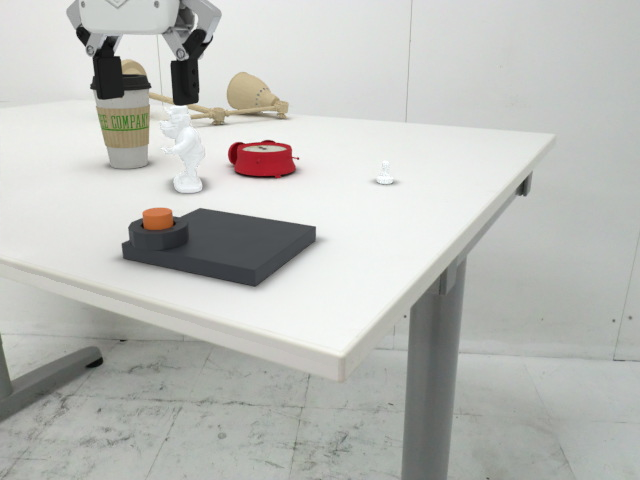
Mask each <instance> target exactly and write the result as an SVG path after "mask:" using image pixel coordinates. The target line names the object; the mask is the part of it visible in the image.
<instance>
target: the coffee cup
mask: <svg viewBox="0 0 640 480" xmlns="http://www.w3.org/2000/svg"><path fill="white" fill-rule="evenodd" d="M147 78H148V75H147V76H146V75H140V74H123V83H124V96H123V97H121V98H114V99H107V100H99V99H98V98H97V93H96V84H95V76H94V75H92V80H91V83H90V84H89V89H90V90H92V93H93V96H94V100H95V109H96V113H97V117H98V122H99V124H100V130H101V134H102V139H103V142H104V146H105V147H106V153H107V156H108V161H109V164H110V167H111V168H114V169H124V170H125V169H126V170H127V169H138V168H142V167H145V166H147V165H148V164H149V144H150V124H151V123H150V117H151V104H150V98H149V92H150V89H152V88H153V87H152V84H151V82H149V79H147Z"/></svg>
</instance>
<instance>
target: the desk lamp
mask: <svg viewBox="0 0 640 480" xmlns="http://www.w3.org/2000/svg"><path fill="white" fill-rule="evenodd" d="M121 64H122V74H140V75H146V76H147V79H148V74H147V72H146V70H145V68H144V66H143V65H142V64H141V63H139V62H138V61H136V60H133V59H131V58H130V59H128V58H126V59H121ZM148 80H149V79H148ZM149 99H151V100H155V101H158V102H162V103H166V104H169V105H172V106H176V105H175V104H174V103H173V97H169V96H166V95H162V94H159V93H154V92H151V91H149ZM226 100H227V103H228V105H229V106H230V107H231V108H232V109H233V110H229V109H225V108H224V107H219V106H218V107H216V106H215V107H207V106H206V107H205V106H202V105H198V104H196V103H195V104H190V105H185V106H187V107H188V110H190V111H194V112H198V114H190V113H188V114H189V115H190V118H191V121H192V120H201V119H210V120H213V121H211V125H214V124H215V125H218V126H219V125H220V126H221V124H224V123H225V117H227V118H229V117H230V116H234V115H243V114H244V115H245V114H257V113H261V112H276V116H279V118H280V119H285V120H287V119H288V117H287V115H285V114H288V113H289V106H290V105H289V104H290V103H289V102H288V101H286V100H280V98H279V97H278V96H277V95H276V94H274V93H272V92H271V90H270V87H269V86H268V85H267V84H266V83H265V81H263V80H262V79H261V78H260V77H257V76H255V75H253V74H250V73H248V72H245V71H240V72H238V73H236V74H234V76H233V77H232V78H231V79H230V81H229V83H228V85H227V89H226Z"/></svg>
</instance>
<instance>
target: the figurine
mask: <svg viewBox="0 0 640 480" xmlns="http://www.w3.org/2000/svg"><path fill="white" fill-rule="evenodd" d="M163 110H164V112H165V113H166V114H168V120H158V124H159V125H160V127H159V130H160V131H162V134H163V136H164V137H166V138H167V139H168V138H169V139H172V140H174V146H172V147H166V148H163V146H162V147H160V150H161V151H162V152H163V153H164V154H165V155H173V156H178V157H179V159H180V160H181V161H182V162H183V164H184V169H185V170H182V171H180V172H179V173H178V174H176V176H174V178H173V180H172V181H173V187H174V189H175V190H176V192H178V193H180V194H193V193H195V194H196V193H199V192H201V191H202V190H203V182H202V180H201V178H200V177H199V176H198V170H197V168H198V167H199V165H200V164H201V163H202V162H203V160H205V159H204V158H205V157H206V150H205V147H204V145H203V143H202V139H201V137H200V134H199V132H198V131H197V129H196V128H195V127H193V126H192V120H191V118H190V115H191V114H190V113H189V109H188V107H187V106H176V105H171V106H170V107H169V109H168V108H167V107H166V106H163ZM189 114H190V115H189Z"/></svg>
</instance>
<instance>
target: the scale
mask: <svg viewBox="0 0 640 480" xmlns="http://www.w3.org/2000/svg"><path fill="white" fill-rule="evenodd" d="M127 231H128V240H125V241H124V242H121V251H122V253H121V254H122V258H123V259H125V260H130V261H134V262H140V263H144V264H149V265H153V266H159V267H162V268H168V269H172V270H177V271H182V272H186V273H191V274H196V275H201V276H206V277H209V278H215V279H219V280H223V281H229V282H234V283H238V284H244V285H248V286H253V287H256V286H257V285H259V284H261V283H262V282H263V281H265V280H266V279H267V278H268V277H269V276H271V275H272V274H274V273H275V272H276V271H277V270H278V269H280V268H281V267H282V266H284V265H285V264H287V263H288V262H289V261H290V260H292V259H293V258H294V257H295V256H297V255H298V254H300V253H301V252H302V251H303V250H305V249H306V248H308V246H310V245H311V244H313V243H314V242H315V241H316V240H317V226H315V225H310V224H303V223H298V222H290V221H285V220H279V219H271V218H266V217H259V216H254V215H247V214H242V213H241V214H240V213H235V212H228V211H222V210H215V209H209V208H203V207H199V208H196V209H193V210H192V211H190V212H188V213H186V214H183V215H181V216H175V215H173V227H171V228H167V229H162V230H148V229H144V225H143V217H140V218H138V219H136V220H133V221H131V222H130V224H129V225H128V226H127Z"/></svg>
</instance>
